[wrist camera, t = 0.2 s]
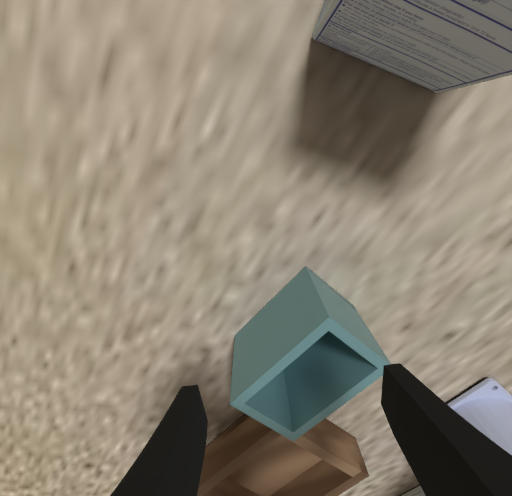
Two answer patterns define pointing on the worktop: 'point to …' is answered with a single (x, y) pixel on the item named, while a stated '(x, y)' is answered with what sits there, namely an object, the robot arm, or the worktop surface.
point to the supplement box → (415, 492)
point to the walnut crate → (280, 462)
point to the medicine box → (423, 38)
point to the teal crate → (302, 357)
